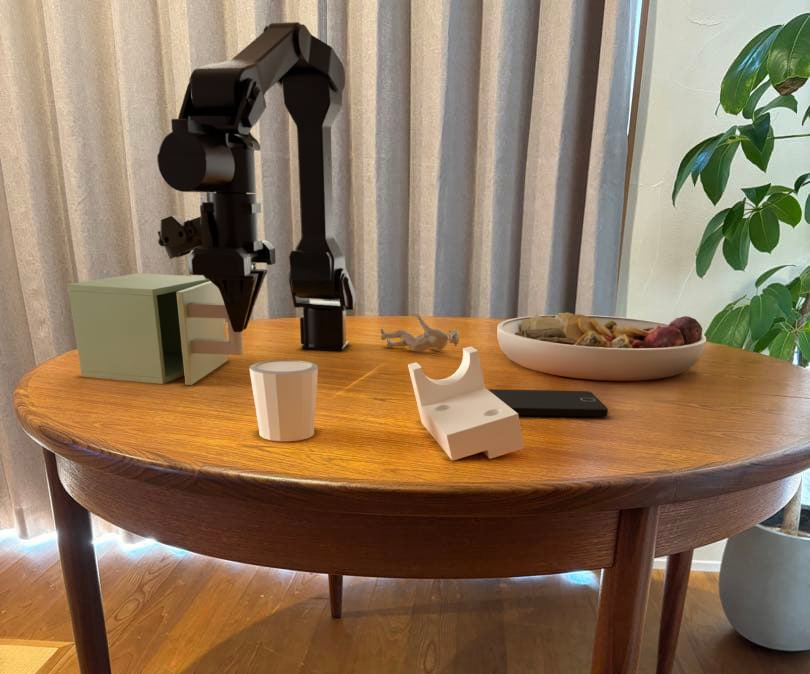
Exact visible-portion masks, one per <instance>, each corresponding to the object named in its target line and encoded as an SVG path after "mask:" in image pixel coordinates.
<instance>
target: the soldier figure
mask: <svg viewBox="0 0 810 674" xmlns="http://www.w3.org/2000/svg"><path fill="white" fill-rule="evenodd" d="M413 316H414V317H416V318H417V320H418V322H419V325H420V326H421V328H422V329H423V330H424V333H423V334H420V335H417V336H416V337H415V336H414V335H413V334H411V333H410V332H408V331H407V330H405V329H399V330H396V331H392V332H387V333H386V331H385V328H381V329H380V333H381V339H380V340H382V341H384V340H386V339H387V340H386V343H387V344H386V349H390V348H393V347H402V348H403V347H404V348H405V347H408V349H410V350H411V351H414V352H417V353H421V352H425V351H427V350H429V349H431V348H433V349H434V350H435V351H436V352H440V351H441V350H443V349H444V348H446V347H447V345H448V342H449V343H450V344H453V345H454V347H455V348H456V347H457V345H458V344H459V341H460V336H459V335H460V334H459V331H458V329H457V328H455V329H453V330H452V331H451V330H449V331H448V334H447V333H446V332H444V331H442V330H440V329H437V328H436V329H435V328H432V327H430V326H429V325H428V324H426V322H425V321H424V319H423V318H422V317H421V315H420V314H419V313H415V314H414V315H413ZM398 338H400V339H402V340H400V341H392V340H391V339H398Z"/></svg>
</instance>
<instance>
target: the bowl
mask: <svg viewBox="0 0 810 674" xmlns="http://www.w3.org/2000/svg"><path fill="white" fill-rule="evenodd" d="M496 330H497V331H496V337H497V342H498V345H499V346H498V347H499V348H500V350H501V352H502V353H503V354H504V355H505V356H506V358H508V359H509V360H510V361H512V362H513V363H515V364H517V365H519V366H521V367H523V368H526V369H529V370H532V371H536V372H540V373H543V374H548V375H553V376H559V377H563V378H565V377H566V378H572V379H581V380H592V381H604V382H605V381H607V382H609V381H612V382H634V381H635V382H637V381H651V380H659V379H664V378H671V377H673V376H676V375H679V374H681V373H684V372H686V371H688V370H689V369H690V368H692V367H694V365H696V363H697V362H698V361H699V360H700V359H701V357H702V355H703V354H704V351H705V348H706V343H707V337H706V335H705V334H703V327H702V325H701V323H700V322H699V321H698V320H697V319H696V318H693V317H691V316H689V315H688V316H687V315H684V316H681V317H676V318H675V319H673V320H671V321H670V322H669V323H667V322H663V321H655V320H649V319H642V318H632V317H621V316H610V315H609V316H608V315H595V314H593V315H591V314H589V315H588V314H578V313H577V314H576V313H575V314H573V313H571V312H568V311H566V312H559V313H556V314H543V315H540V314H535V315H530V316H529V315H528V316H520V317H515V318H514V317H513V318H509V319H505V320H503V321H501V322H500V323H498V324H497V329H496Z"/></svg>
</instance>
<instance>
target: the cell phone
mask: <svg viewBox="0 0 810 674" xmlns="http://www.w3.org/2000/svg"><path fill="white" fill-rule="evenodd" d="M487 389H488V390H489V391H490V392H491V393H493V394H494V395H495V396H496V397H498V398H499V399H500V400H501V401H503V402H504V403H505V404H507V405H508V406H509V407H510V408H512V409H513V410H514V411H515V412H517V413H518V416H557V417H558V416H559V417H560V416H561V417H603V418H604V417H607V416H608V413H609V408H608V407H607V405H605V404H604V403H603V402H602V401H601V400H600V399H599V398H598V397H597V396H596V395H595V394H594V393H593V392H592V391H589V390H557V389H556V390H551V389H547V390H546V389H496V388H494V389H491V388H487Z"/></svg>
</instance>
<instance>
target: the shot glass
mask: <svg viewBox="0 0 810 674" xmlns="http://www.w3.org/2000/svg"><path fill="white" fill-rule="evenodd" d="M318 374H319V365H318V364H316V363H314V362H310V361H306V360H297V359H275V360H273V359H272V360H265V361H259V362H255V363H253V364H251V365H249V375H250V381H251V382H250V383H251V388H252V394H253V400H254V408H255V414H256V421H257V426H258V433H259V436H260V437H261V438H262V439H265V440H268V441H272V442H273V441H274V442H298V441H304V440H306V439H310V438H311V437H313V436H314V435H315V423H316V407H317V406H316V405H317V392H318V377H319V375H318Z"/></svg>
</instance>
